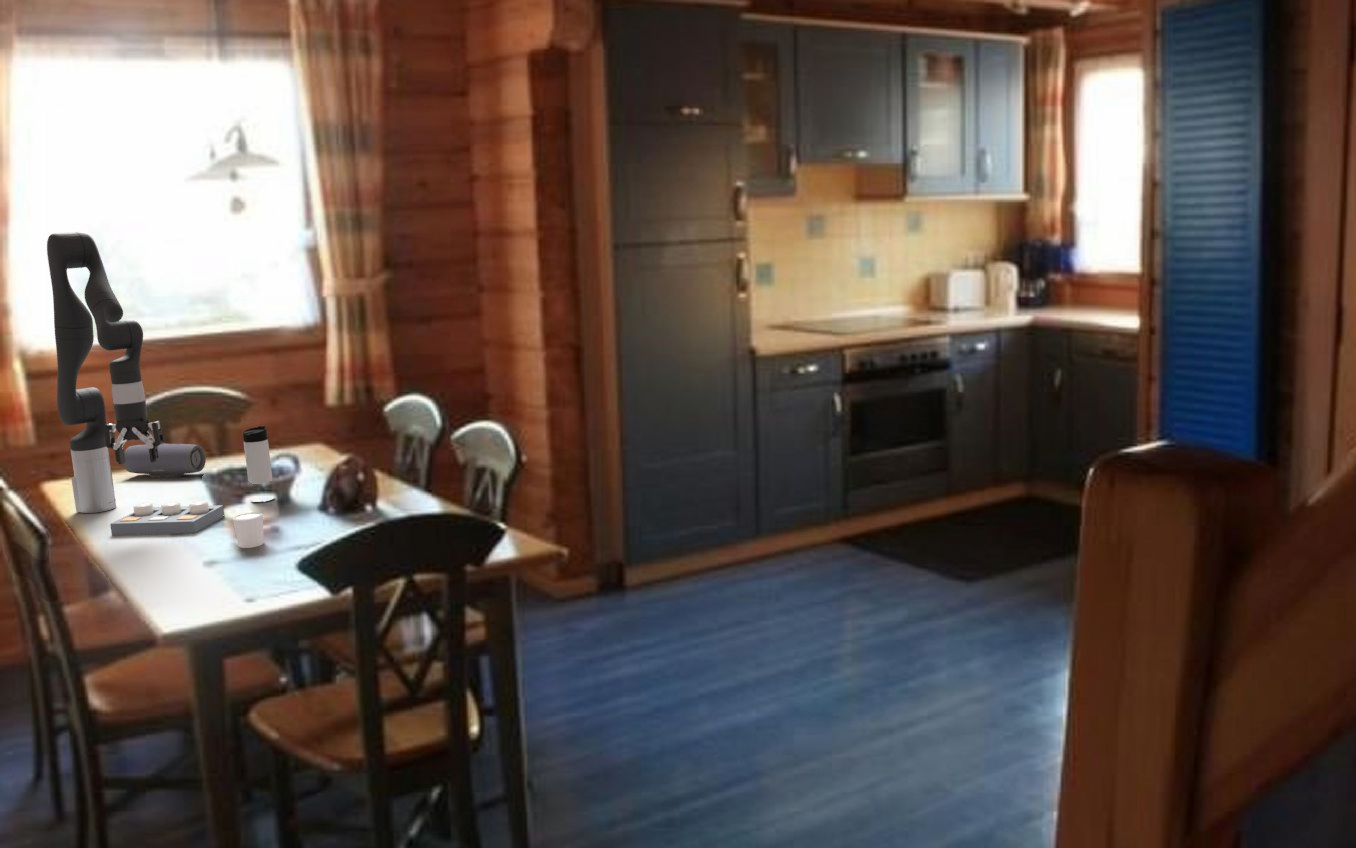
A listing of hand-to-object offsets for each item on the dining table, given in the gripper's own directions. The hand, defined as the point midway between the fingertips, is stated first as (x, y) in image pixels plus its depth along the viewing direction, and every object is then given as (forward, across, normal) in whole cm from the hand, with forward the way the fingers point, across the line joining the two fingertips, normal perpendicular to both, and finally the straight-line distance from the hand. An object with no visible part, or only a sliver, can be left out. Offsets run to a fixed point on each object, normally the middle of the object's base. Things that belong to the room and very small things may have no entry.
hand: (137, 463), depth 330 cm
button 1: (+14, +1, -1) cm, 14 cm away
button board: (+16, -7, +1) cm, 18 cm away
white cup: (+17, -37, +22) cm, 46 cm away
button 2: (+14, -14, 0) cm, 20 cm away
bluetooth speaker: (+16, +24, -60) cm, 67 cm away
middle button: (+14, -7, -1) cm, 16 cm away
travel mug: (+16, -21, -23) cm, 36 cm away
